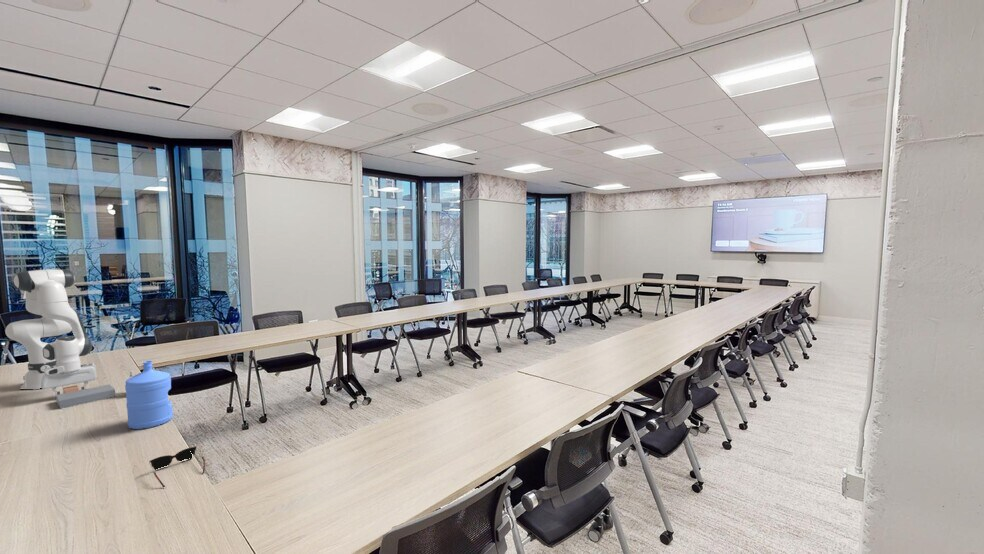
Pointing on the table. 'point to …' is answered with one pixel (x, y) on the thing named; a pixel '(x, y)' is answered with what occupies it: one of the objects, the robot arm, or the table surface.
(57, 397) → the stand
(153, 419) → the water jug
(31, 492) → the table surface
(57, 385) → the robot arm
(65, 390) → the cube
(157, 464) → the sunglasses
